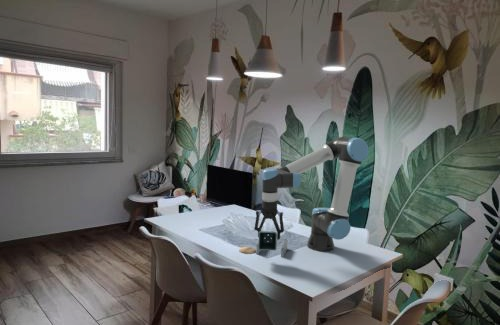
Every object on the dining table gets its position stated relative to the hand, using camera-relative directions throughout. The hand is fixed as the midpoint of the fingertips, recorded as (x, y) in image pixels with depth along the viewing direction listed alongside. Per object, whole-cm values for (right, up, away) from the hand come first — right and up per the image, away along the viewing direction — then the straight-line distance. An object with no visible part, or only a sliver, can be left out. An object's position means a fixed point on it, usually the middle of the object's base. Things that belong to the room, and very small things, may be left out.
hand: (268, 244), depth 182 cm
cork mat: (-11, -7, +14) cm, 19 cm away
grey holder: (+2, -7, +14) cm, 16 cm away
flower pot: (0, +3, +1) cm, 3 cm away
